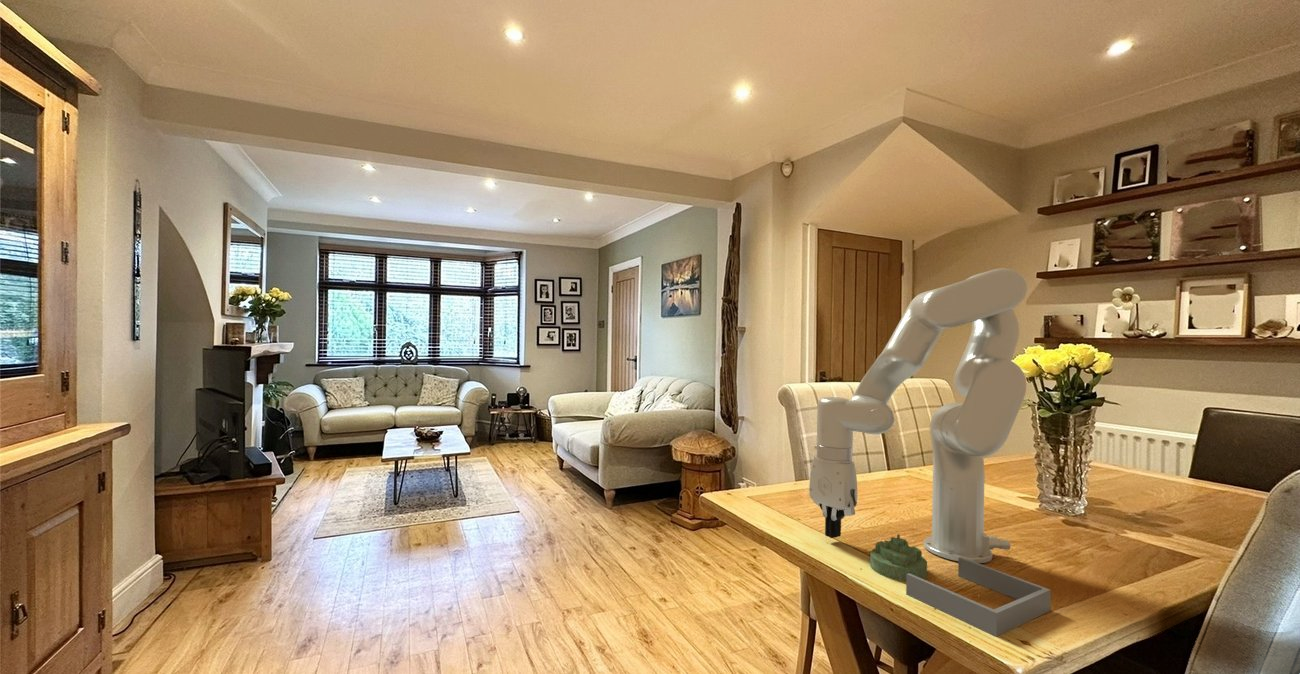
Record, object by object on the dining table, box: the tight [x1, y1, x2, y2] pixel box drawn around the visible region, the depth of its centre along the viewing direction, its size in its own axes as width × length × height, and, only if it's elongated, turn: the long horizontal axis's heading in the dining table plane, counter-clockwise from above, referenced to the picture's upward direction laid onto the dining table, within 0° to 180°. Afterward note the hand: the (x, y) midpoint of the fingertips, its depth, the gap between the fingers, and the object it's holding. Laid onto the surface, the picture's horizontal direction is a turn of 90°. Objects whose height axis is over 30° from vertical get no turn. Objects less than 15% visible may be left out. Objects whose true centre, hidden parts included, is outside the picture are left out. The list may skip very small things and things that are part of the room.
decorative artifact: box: [869, 534, 928, 582], centre depth 101 cm, size 10×7×10 cm
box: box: [905, 557, 1052, 637], centre depth 89 cm, size 15×17×4 cm
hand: (832, 535), depth 115 cm, fingers closed
